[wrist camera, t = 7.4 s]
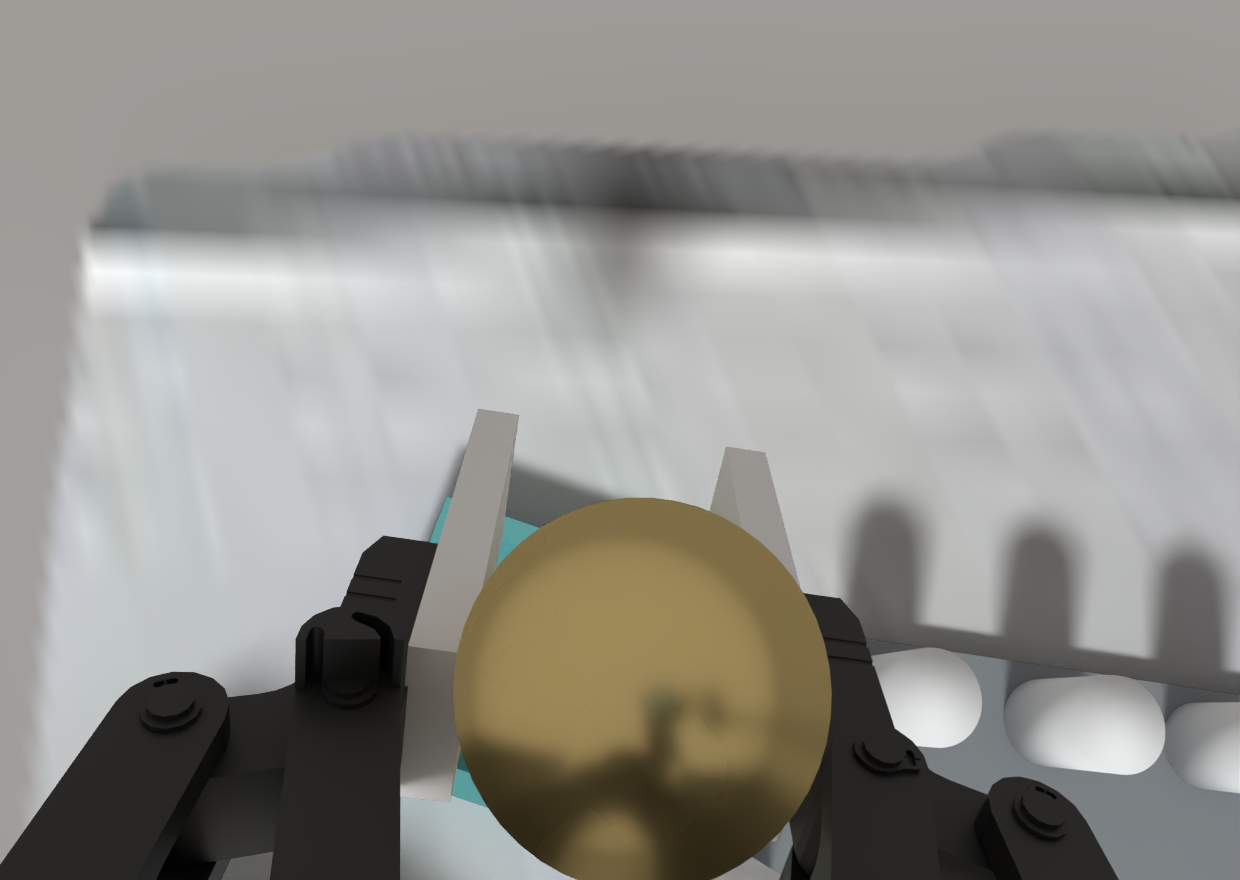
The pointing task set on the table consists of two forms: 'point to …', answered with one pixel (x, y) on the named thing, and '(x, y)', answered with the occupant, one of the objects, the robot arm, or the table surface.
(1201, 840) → the board
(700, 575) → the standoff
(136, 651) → the table surface
